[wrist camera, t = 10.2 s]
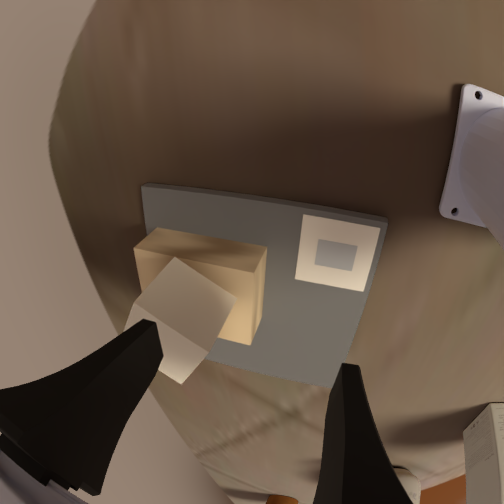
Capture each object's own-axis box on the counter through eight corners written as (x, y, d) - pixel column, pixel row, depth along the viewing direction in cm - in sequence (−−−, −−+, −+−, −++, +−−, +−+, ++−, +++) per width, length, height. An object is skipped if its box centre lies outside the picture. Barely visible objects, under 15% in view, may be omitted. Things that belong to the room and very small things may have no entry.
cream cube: (237, 298, 19) (209, 352, 15) (208, 335, 21) (181, 384, 18) (174, 256, 19) (133, 302, 15) (154, 299, 21) (119, 343, 17)
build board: (387, 217, 17) (388, 223, 17) (334, 381, 26) (333, 389, 25) (147, 182, 21) (140, 187, 20) (170, 341, 29) (166, 347, 29)
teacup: (426, 476, 33) (424, 519, 27) (364, 487, 39) (358, 527, 32) (409, 448, 29) (405, 504, 23) (332, 460, 35) (322, 511, 28)
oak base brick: (267, 246, 20) (254, 272, 17) (261, 316, 23) (250, 345, 21) (156, 227, 22) (133, 247, 19) (166, 293, 25) (147, 317, 22)
